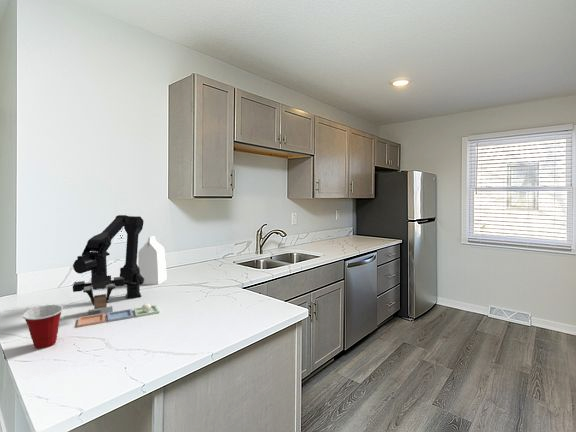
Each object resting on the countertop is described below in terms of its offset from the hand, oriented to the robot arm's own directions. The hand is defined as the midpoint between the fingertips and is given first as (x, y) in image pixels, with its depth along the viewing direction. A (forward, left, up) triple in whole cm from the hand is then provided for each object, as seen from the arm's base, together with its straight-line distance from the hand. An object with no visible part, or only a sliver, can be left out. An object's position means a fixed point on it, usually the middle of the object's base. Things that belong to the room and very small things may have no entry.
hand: (100, 303), depth 137 cm
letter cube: (0, 0, -1) cm, 1 cm away
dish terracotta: (+10, -3, -4) cm, 11 cm away
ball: (+10, +17, -3) cm, 20 cm away
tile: (0, 0, -4) cm, 4 cm away
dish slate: (+10, +7, -4) cm, 13 cm away
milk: (-41, +26, -4) cm, 49 cm away
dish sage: (+10, +17, -4) cm, 20 cm away
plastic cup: (+25, -16, -4) cm, 30 cm away
